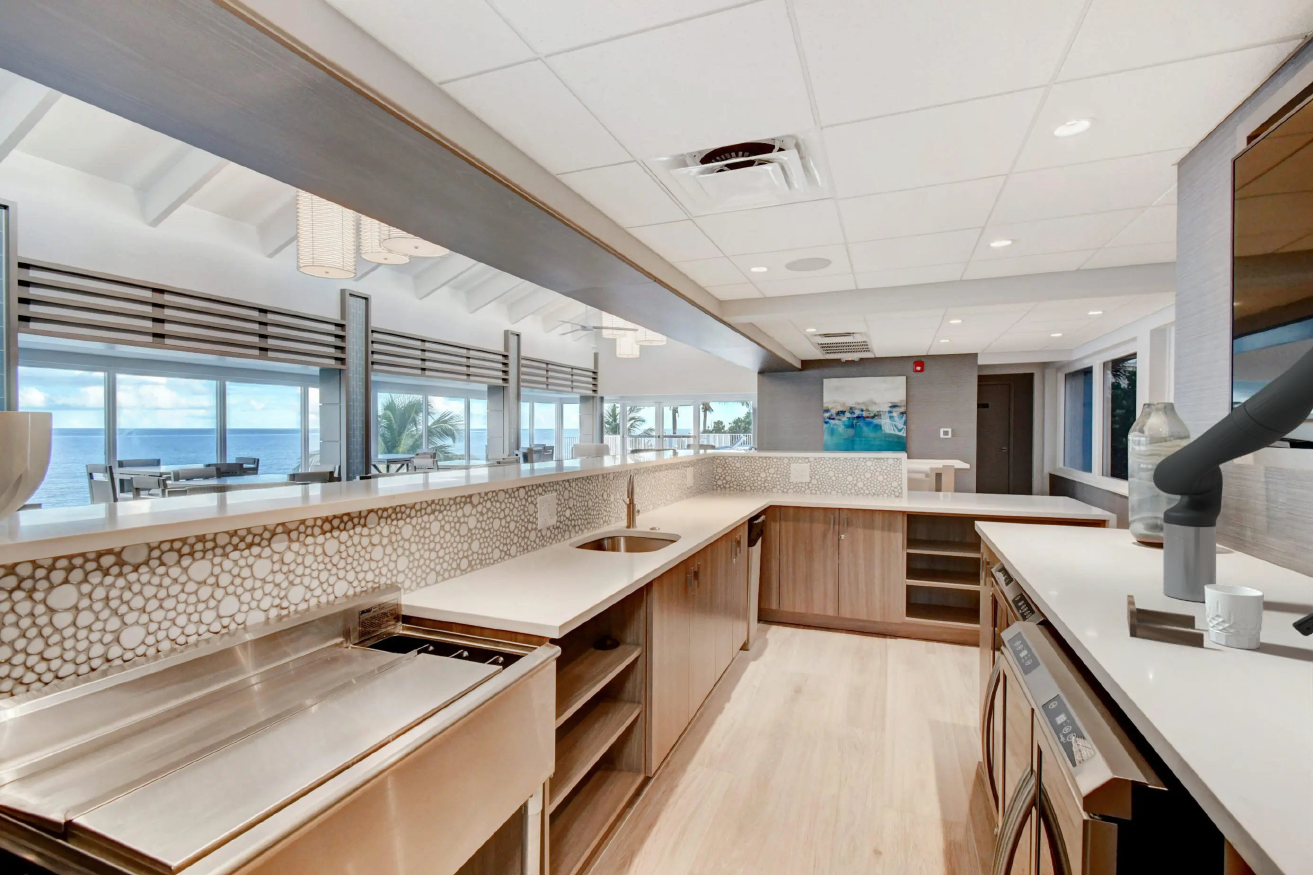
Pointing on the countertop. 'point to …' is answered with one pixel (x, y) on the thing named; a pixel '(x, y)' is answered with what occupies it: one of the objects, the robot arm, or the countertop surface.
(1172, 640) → the walnut bay
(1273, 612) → the countertop surface
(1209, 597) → the white cup
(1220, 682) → the countertop surface
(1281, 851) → the countertop surface
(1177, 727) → the countertop surface
